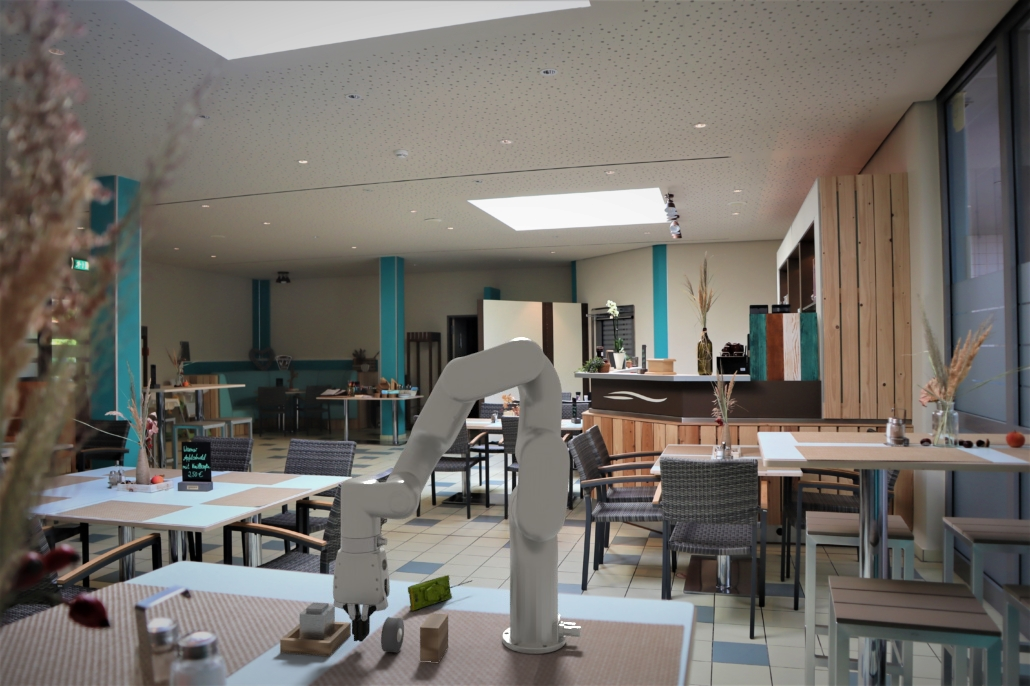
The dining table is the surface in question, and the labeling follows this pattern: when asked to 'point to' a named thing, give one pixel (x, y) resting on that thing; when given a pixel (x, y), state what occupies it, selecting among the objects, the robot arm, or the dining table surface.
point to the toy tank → (430, 592)
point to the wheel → (392, 634)
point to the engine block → (317, 622)
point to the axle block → (434, 637)
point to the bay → (315, 642)
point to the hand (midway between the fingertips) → (360, 638)
